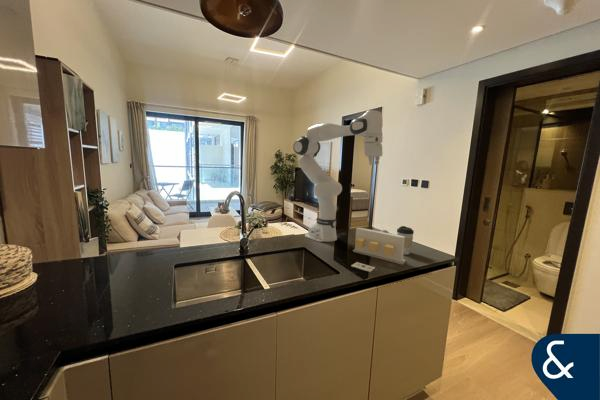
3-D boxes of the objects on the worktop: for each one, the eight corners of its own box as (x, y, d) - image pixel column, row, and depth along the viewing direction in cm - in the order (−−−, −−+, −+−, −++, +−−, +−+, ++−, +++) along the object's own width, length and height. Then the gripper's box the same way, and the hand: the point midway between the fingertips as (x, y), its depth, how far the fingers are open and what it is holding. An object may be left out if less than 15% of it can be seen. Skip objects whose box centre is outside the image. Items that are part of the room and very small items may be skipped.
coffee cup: (414, 255, 139) (416, 229, 137) (398, 255, 139) (400, 229, 137) (407, 250, 148) (410, 225, 146) (392, 249, 148) (394, 225, 146)
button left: (355, 246, 136) (355, 239, 135) (360, 243, 141) (361, 236, 141) (361, 248, 133) (362, 241, 133) (367, 244, 139) (367, 238, 138)
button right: (383, 253, 126) (384, 246, 125) (388, 249, 132) (389, 242, 131) (391, 255, 123) (392, 248, 123) (396, 251, 129) (396, 244, 128)
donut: (386, 243, 160) (387, 228, 159) (390, 244, 157) (391, 229, 156) (375, 245, 155) (376, 230, 154) (379, 247, 152) (380, 231, 151)
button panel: (352, 251, 144) (354, 228, 141) (356, 249, 147) (358, 226, 145) (402, 264, 126) (404, 238, 124) (405, 261, 130) (407, 236, 128)
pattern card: (351, 266, 123) (351, 265, 123) (356, 262, 128) (356, 261, 127) (370, 272, 117) (370, 271, 117) (375, 268, 121) (375, 267, 121)
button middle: (368, 249, 131) (369, 242, 130) (374, 246, 136) (374, 239, 136) (376, 251, 128) (376, 244, 128) (381, 248, 134) (381, 241, 133)
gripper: (374, 141, 148) (374, 164, 150) (362, 139, 132) (362, 165, 134) (385, 140, 145) (385, 164, 147) (373, 138, 128) (373, 164, 130)
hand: (374, 164), depth 140 cm, fingers open, 8 cm apart
